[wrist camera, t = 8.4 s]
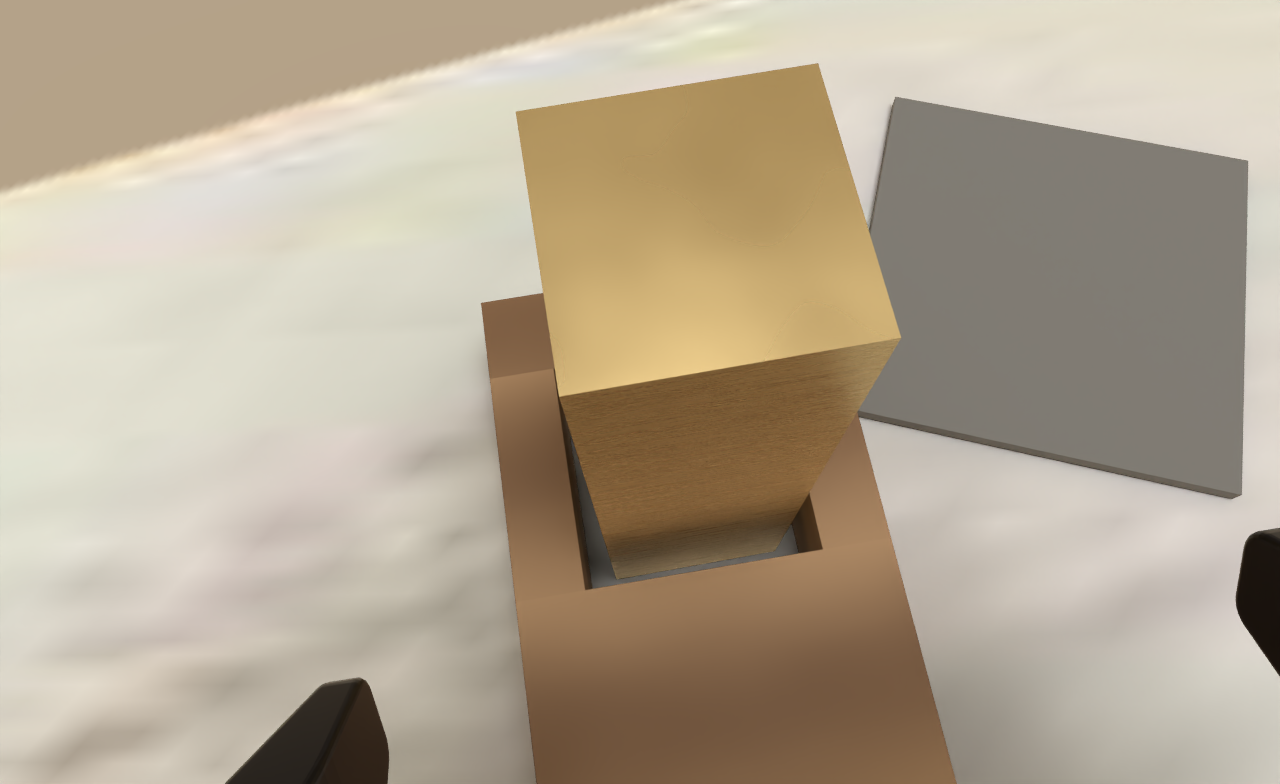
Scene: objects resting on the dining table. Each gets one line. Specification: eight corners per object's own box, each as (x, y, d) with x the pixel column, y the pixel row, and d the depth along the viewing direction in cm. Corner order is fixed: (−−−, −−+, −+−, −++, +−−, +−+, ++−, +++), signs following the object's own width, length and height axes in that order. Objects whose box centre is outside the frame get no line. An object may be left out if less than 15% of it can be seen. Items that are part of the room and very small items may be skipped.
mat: (1232, 498, 23) (1241, 494, 22) (836, 411, 24) (839, 406, 24) (1240, 169, 26) (1247, 160, 26) (892, 105, 27) (895, 96, 27)
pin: (774, 550, 23) (901, 337, 10) (616, 579, 22) (559, 397, 10) (740, 402, 24) (818, 63, 12) (592, 428, 24) (515, 112, 12)
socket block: (934, 846, 20) (977, 864, 17) (570, 913, 20) (554, 942, 17) (797, 304, 25) (813, 249, 22) (501, 351, 25) (481, 303, 22)
